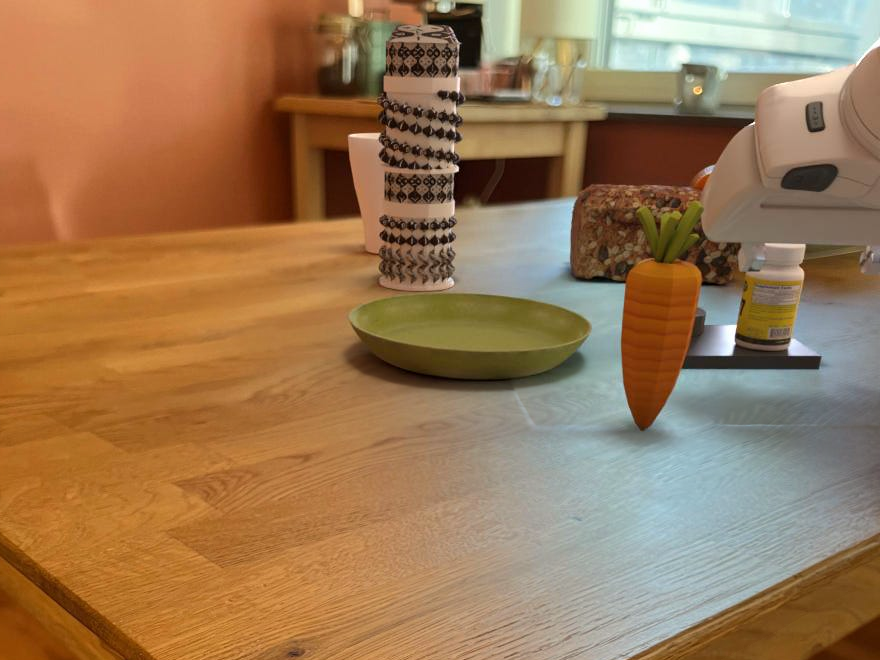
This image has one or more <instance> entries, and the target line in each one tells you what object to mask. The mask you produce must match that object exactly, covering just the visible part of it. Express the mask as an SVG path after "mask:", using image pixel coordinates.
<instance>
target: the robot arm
mask: <svg viewBox="0 0 880 660" xmlns="http://www.w3.org/2000/svg"><path fill="white" fill-rule="evenodd" d="M753 120H754V122H753V123H751V124H748V125H747V126H744V128H742V129H741V130H740V131H738V132H737V133H736V134H735V135H734V136H733V137H732V139H731V140H730V141H729V142H728V144H727V145H726V146H725V148H724V150H723V151H722V153H721V154H720V156H719V157H718V160H717V161H716V163H715V164H714V167H713V168H712V170H711V172H710V174H709V175H708V178H707V180H706V182H705V184H704V186H703V189H702V190H701V191H702V194H701V204H702V206H703V208H704V211H703V213H702V214H701V222H702V228H703V231H704V233H705V235H706V236H707V238H708V239H709V240H710V241H712V242H736V243H741V245H740V251H739V255H738V261H737V264H738V270H739V272H740V273H744V272H745V273H746V272H760V270H761V267H762V266H763V265H764V264H765V262H766V260H767V259H766V252H765V251H764V249H765V243H779V244H805V245H828V246H829V245H830V246H865V250H864V251H862V252H861V254H860V257H859V265H860V266H861V268H860V273H861V275H873V276H874V275H875V276H880V38H879V39H878V40H877V41H876V42H875V43H874V44H873V45H872V46H871V47H870V48H869V49H868V50H867V51H866V52H865V53H864V55H862V57H861V58H860V59H859V61H857V62H853V63H850V64H847V65H845V66H842V67H839V68H837V69H833V70H831V71H828V72H825V73H821V74H818V75H814V76H810V77H806V78H801V79H797V80H793V81H787V82H782V83H779V84H775V85H771V86H769V87H767V88H765V89H764V90H763V91H761V93H760V94H759V96H758V97H757V99H756V101H755V105H754V118H753Z"/></svg>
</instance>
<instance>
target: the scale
mask: <svg viewBox="0 0 880 660" xmlns="http://www.w3.org/2000/svg"><path fill="white" fill-rule="evenodd" d="M706 317H707V311H706V310H705V309H703V308H702V307H699V306H697V311H696V316H695V321H694V325H693V330H692V335H691V339H690V344H689V347H688V350H687V353H686V356H685V359H684V362H683V365H682V368H681V370H819V369H820V365H821V361H822V357H823V356H822V355H821V354H819V353H817V352H816V351H814V350H813V349H811V348H809V347H808V346H806V345H805V344H803V343H802V342H800V341H798V340H797V339H795V338H793V337H792V339H791V344H790V346H789V347H788V348H787V349H784V350H781V351H761V350H752V349H747V348H743V347H740V346H738V345H737V344H736V343H735V341H734V338H735V332H736V326H737V324H705V322H706Z"/></svg>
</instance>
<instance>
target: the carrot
mask: <svg viewBox="0 0 880 660" xmlns="http://www.w3.org/2000/svg"><path fill="white" fill-rule="evenodd" d="M703 211H704V208H703V206H702V204H701V202H699V201H692V203H691V204H690V206H689V207H688V209H687V211H686V212H685V214H684V216H683V218H682V219H681V221H680V223H679V225H678V227H677V229H676V231H675V230H674V229H675V227H676V225H677V224H678V222H679V220H680V218H681V216H682V214H680V213H679V212H675V211H674V212H673V213H672V214H671V215H670V214H669V213H668V212H666V213H664V214H663V215H662V216H661V230H660V238H659V237H658V233H657V229H656V225H655V221H654V218H653V216H652V214H651V212H650V210H649V209H648V208H647V206H644V207H641V208H640V209H639V210H638V211H637V212H636V213H637V215H638V217H639V219H640V221H641V223H642V225H643V228H644V231H645V234H646V236H647V239H648V242H649V245H650V248H651V250H652V253H653V256H654V258H651V259H645V260H643V261H641V262H639V263H638V264H637V265H636V266H634V267H633V268H632V269H631V270H630V271H629V274H628V276H627V280H626V281H625V288H624V296H623V297H624V298H623V308H622V320H621V335H620V349H621V350H620V351H621V352H620V353H621V354H620V355H621V357H620V358H621V373H622V383H623V384H622V385H623V389H624V393H625V397H626V402H627V405H628V408H629V412H630V413H631V416H632V419H633V422H634V424H635V425H636V426H637V427H638V429H639V430H640V431H642V432H643V431H646V430H647V429H649V428H650V427H651V426H652V425H653V424H654V422H655V420H656V419H657V417H658V416H659V414H660V413H661V411H662V410H663V409H664V407H665V405H666V404H667V402H668V400H669V399H670V397H671V395H672V393H673V390H674V388H675V387H676V384H677V382H678V378H679V375H680V373H681V370H682V369H681V368H682V365H683V362H684V359H685V356H686V353H687V350H688V347H689V344H690V339H691V335H692V330H693V325H694V321H695V316H696V311H697V307H699V300H700V295H701V289H702V284H703V283H702V276H701V272H700V270H699V269H698V268H697V266H695V265H693V264H692V263H689V262H686V261H682V260H679V259H677V258H678V257H679V256H680V255H681V254H682V253H684V252H685V251H686V250H687V249H688V248H689V247H690V246H691V245H693V244H694V243H695V242H696V241H697V240H698V239H699V236H698V234H691V235H689V234H690V232H691V231H692V229H693V228H694V226H695V224H696V223H697V221H698V220H699V218H700V216H701V214H702V213H703Z"/></svg>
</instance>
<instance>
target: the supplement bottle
mask: <svg viewBox="0 0 880 660" xmlns="http://www.w3.org/2000/svg"><path fill="white" fill-rule="evenodd" d="M806 245H807V244H779V243H765V249H764V251H765V252H766V259H767V260H766V262H765V264H764V265H763V266H762V267H761V270H760V272H745V275H744V276H745V277H744V281H743V287H742V291H741V298H740V304H739V310H738V315H737V320H736V325H737V326H736V332H735V338H734V341H735V343H736V344H737V345H738V346H740V347H743V348H747V349H752V350H761V351H781V350H784V349H787V348H788V347H789V346H790V344H791V339H792V338H793V334H794V329H795V323H796V318H797V315H798V308H799V304H800V299H801V295H802V290H803V285H804V281H805V271H804V269H803V268H802V267H800V264H803V260H804V258H805V253H806V248H807V246H806Z"/></svg>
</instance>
